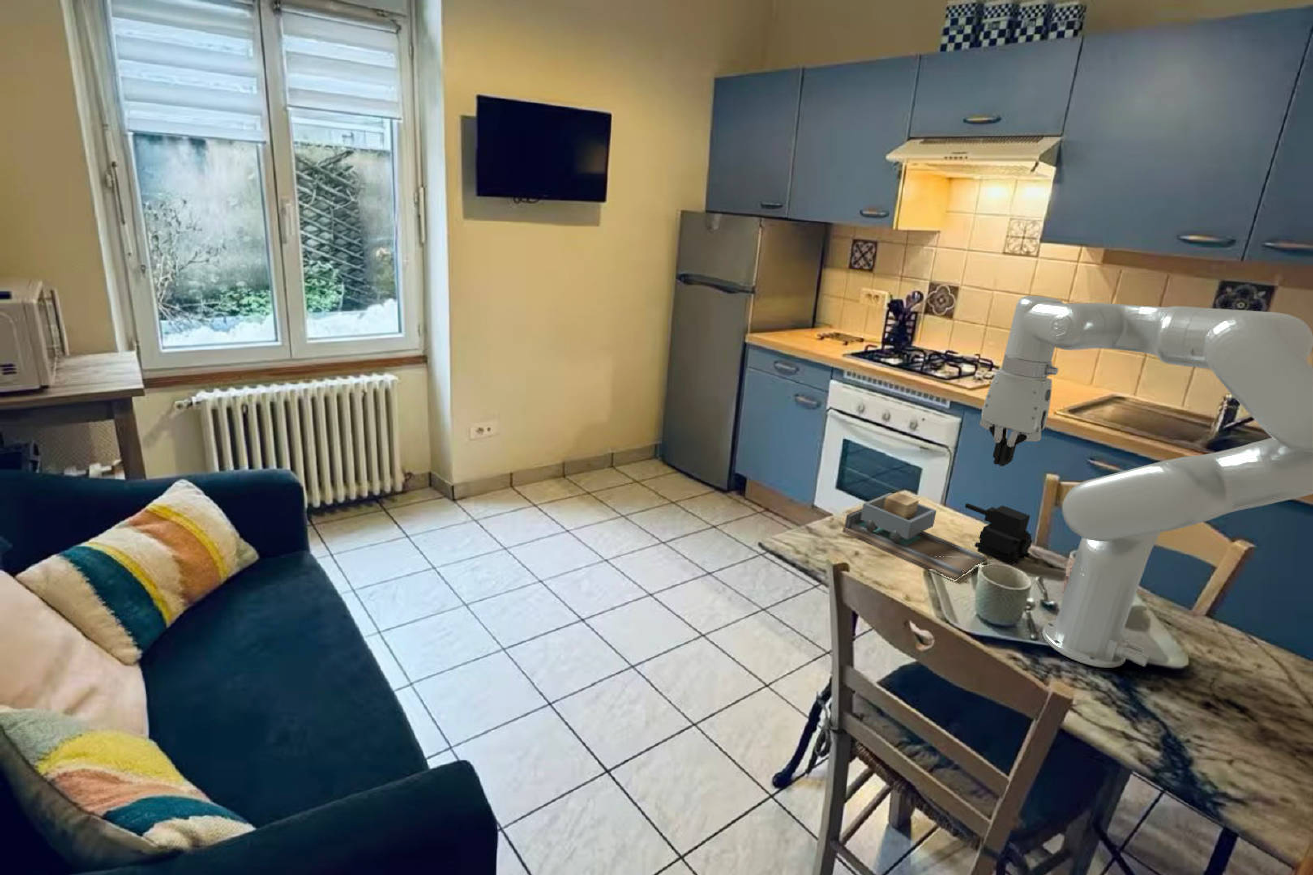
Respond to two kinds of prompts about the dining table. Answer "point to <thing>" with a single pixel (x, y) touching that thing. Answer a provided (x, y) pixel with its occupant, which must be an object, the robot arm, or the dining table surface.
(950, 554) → the track
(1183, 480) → the robot arm
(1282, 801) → the dining table surface
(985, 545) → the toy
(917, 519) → the cart
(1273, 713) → the dining table surface
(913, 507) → the block
